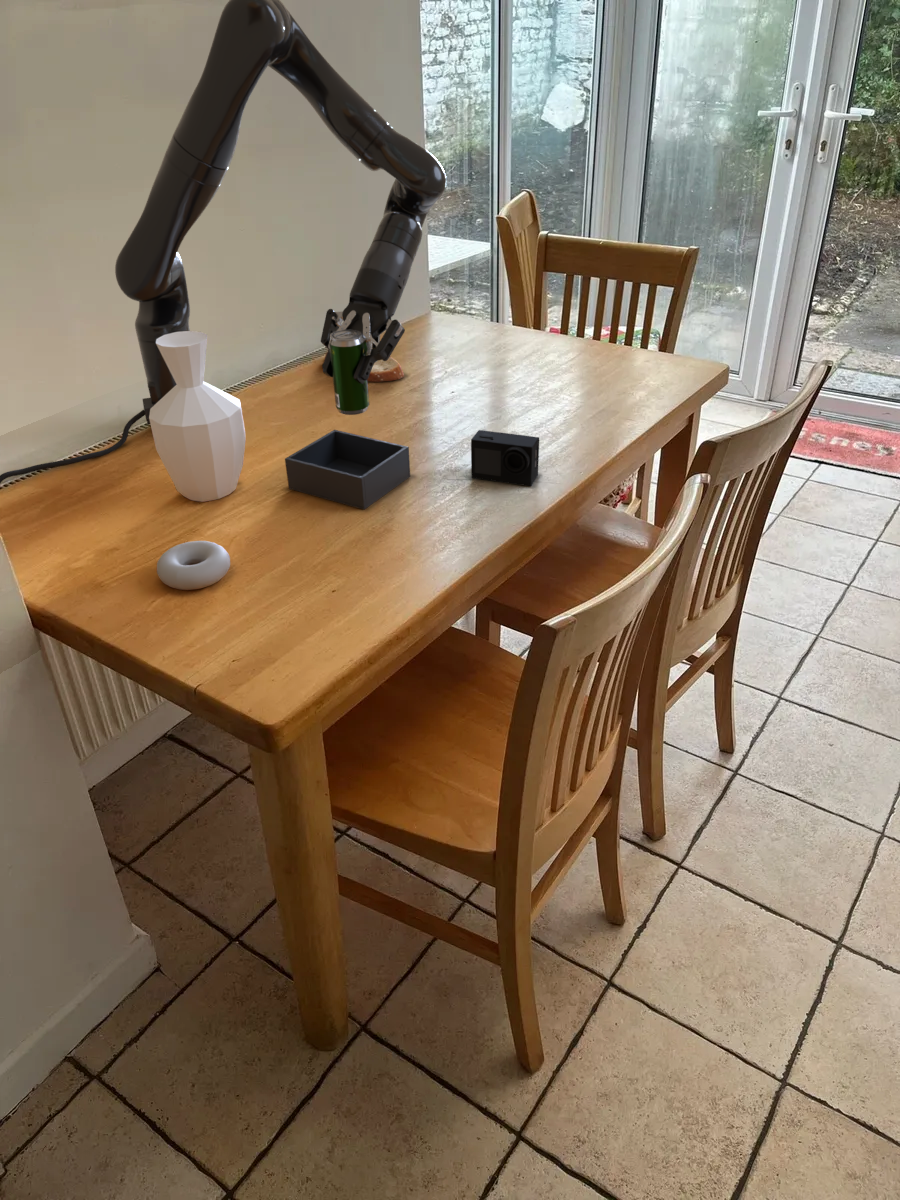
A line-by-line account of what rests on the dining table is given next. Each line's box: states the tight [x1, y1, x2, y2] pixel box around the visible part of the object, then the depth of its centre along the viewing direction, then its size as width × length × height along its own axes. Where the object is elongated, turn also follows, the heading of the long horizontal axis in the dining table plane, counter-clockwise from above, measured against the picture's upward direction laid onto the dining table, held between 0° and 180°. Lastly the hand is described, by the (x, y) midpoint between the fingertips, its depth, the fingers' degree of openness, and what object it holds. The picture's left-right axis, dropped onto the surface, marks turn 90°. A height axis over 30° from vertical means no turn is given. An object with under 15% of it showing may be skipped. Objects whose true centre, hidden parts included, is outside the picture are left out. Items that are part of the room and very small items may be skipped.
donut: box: [156, 540, 231, 591], centre depth 124 cm, size 10×4×10 cm
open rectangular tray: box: [284, 429, 411, 510], centre depth 146 cm, size 13×15×5 cm
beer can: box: [329, 330, 370, 416], centre depth 139 cm, size 5×5×12 cm
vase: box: [149, 330, 247, 503], centre depth 140 cm, size 14×14×25 cm
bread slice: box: [323, 351, 405, 383], centre depth 192 cm, size 18×18×4 cm
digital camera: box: [470, 429, 540, 487], centre depth 145 cm, size 10×5×7 cm, turn 70°
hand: (343, 377), depth 138 cm, fingers closed on beer can, 5 cm apart
